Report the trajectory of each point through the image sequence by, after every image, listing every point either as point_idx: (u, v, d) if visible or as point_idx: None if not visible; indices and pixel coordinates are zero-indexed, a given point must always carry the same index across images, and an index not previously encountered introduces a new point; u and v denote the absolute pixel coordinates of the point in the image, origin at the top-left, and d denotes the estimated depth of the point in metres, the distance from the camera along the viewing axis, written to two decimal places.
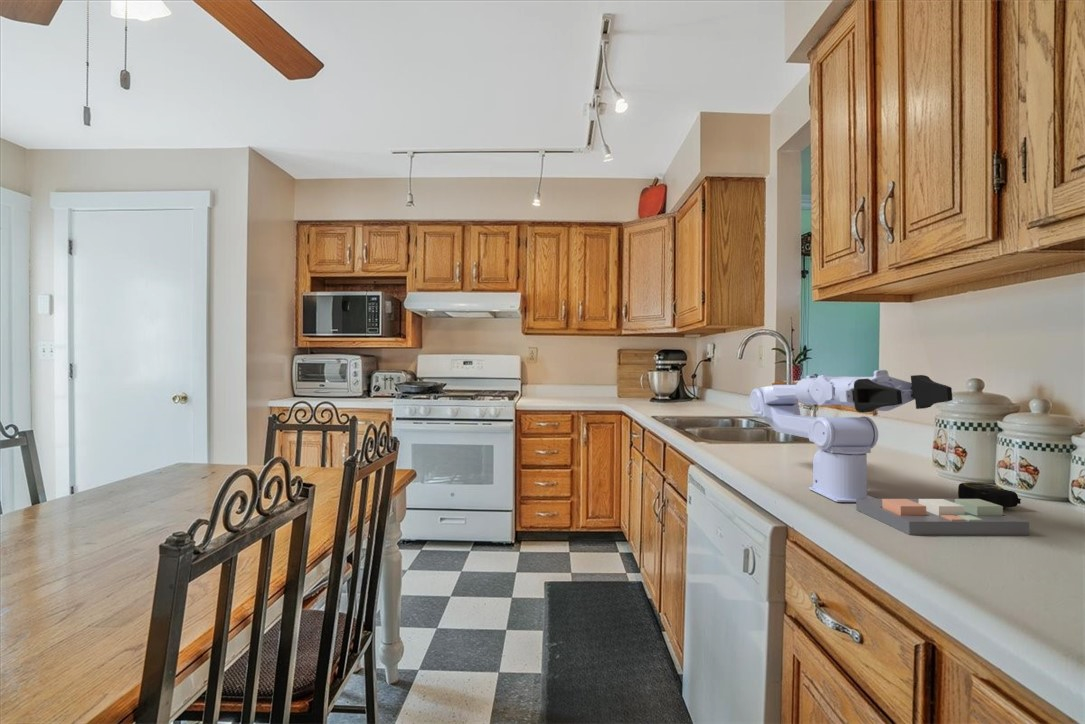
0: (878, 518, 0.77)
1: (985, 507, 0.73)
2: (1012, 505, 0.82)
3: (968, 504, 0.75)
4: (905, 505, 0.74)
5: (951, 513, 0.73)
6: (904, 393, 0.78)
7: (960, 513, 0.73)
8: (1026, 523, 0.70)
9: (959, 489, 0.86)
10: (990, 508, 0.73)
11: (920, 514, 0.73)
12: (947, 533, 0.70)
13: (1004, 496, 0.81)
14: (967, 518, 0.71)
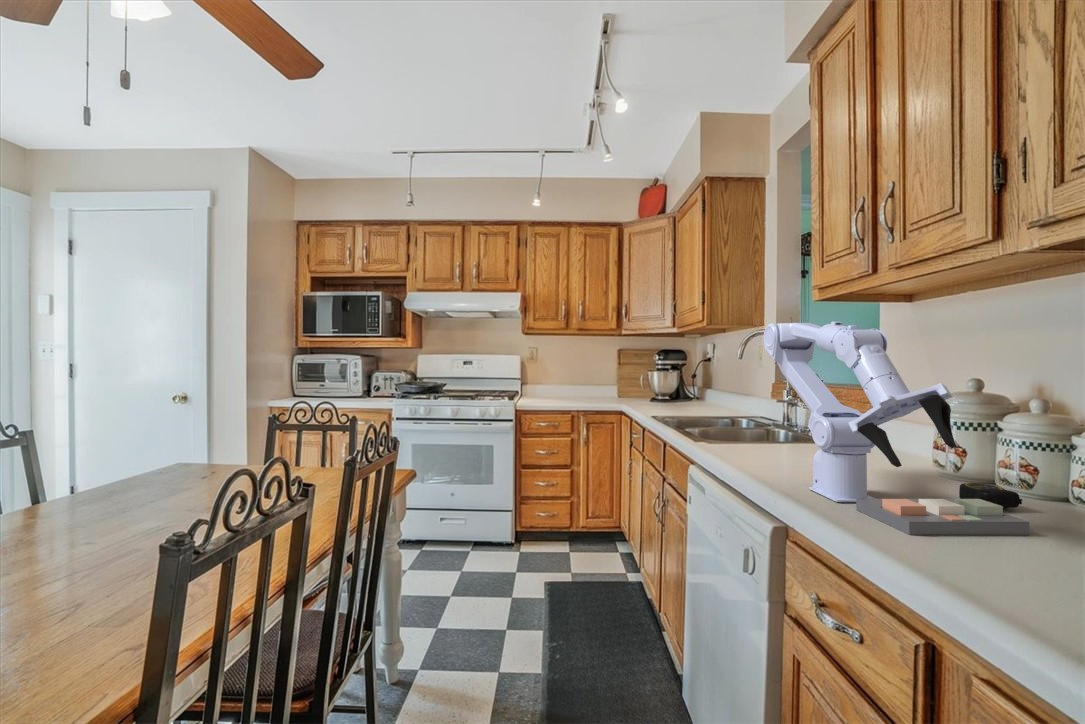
0: (878, 518, 0.77)
1: (985, 507, 0.73)
2: (1013, 506, 0.81)
3: (968, 504, 0.75)
4: (905, 505, 0.74)
5: (951, 513, 0.73)
6: (917, 408, 0.74)
7: (960, 513, 0.73)
8: (1026, 523, 0.70)
9: (960, 489, 0.86)
10: (990, 508, 0.73)
11: (920, 514, 0.73)
12: (947, 533, 0.70)
13: (1005, 496, 0.81)
14: (967, 518, 0.71)
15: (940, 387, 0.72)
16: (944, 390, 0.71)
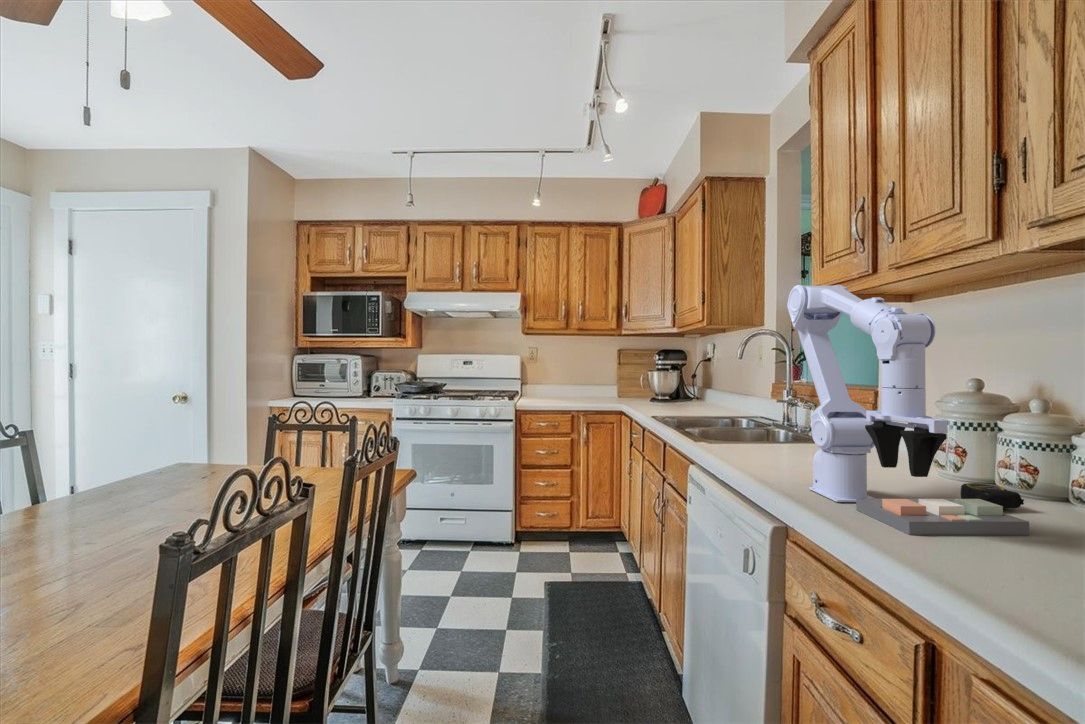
0: (878, 518, 0.77)
1: (985, 507, 0.73)
2: (1015, 506, 0.81)
3: (968, 504, 0.75)
4: (905, 505, 0.74)
5: (951, 513, 0.73)
6: None
7: (960, 513, 0.73)
8: (1026, 523, 0.70)
9: (962, 490, 0.85)
10: (990, 508, 0.73)
11: (920, 514, 0.73)
12: (947, 533, 0.70)
13: (1007, 496, 0.81)
14: (967, 518, 0.71)
15: (931, 424, 0.68)
16: (932, 429, 0.68)
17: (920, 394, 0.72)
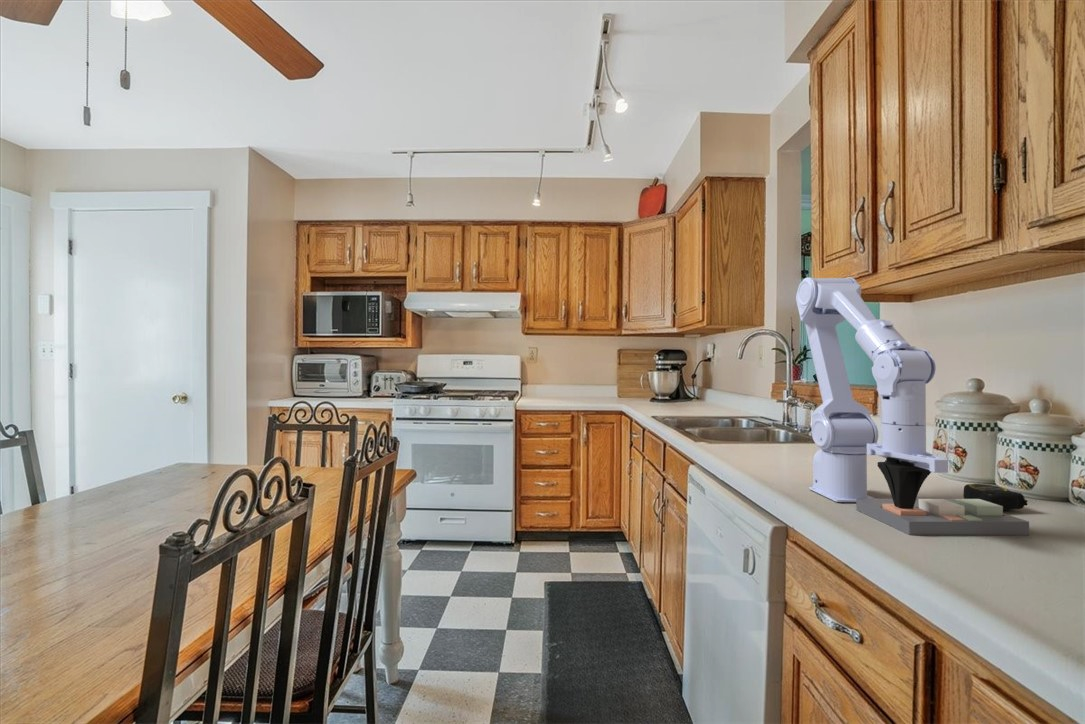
0: (878, 518, 0.77)
1: (985, 507, 0.73)
2: (1019, 507, 0.81)
3: (968, 504, 0.75)
4: (905, 510, 0.74)
5: (951, 513, 0.73)
6: None
7: (960, 513, 0.73)
8: (1026, 523, 0.70)
9: (965, 491, 0.85)
10: (990, 508, 0.73)
11: None
12: (947, 533, 0.70)
13: (1010, 497, 0.80)
14: (967, 518, 0.71)
15: (932, 463, 0.68)
16: (933, 469, 0.68)
17: (920, 431, 0.72)
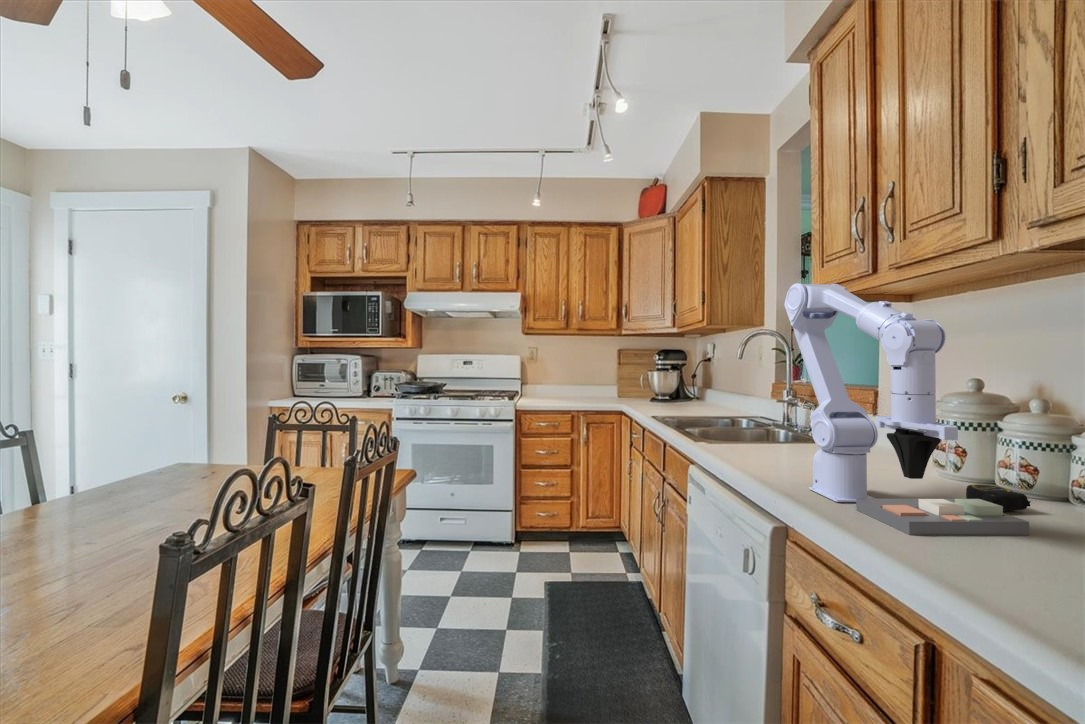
0: (878, 518, 0.77)
1: (985, 507, 0.73)
2: (1021, 508, 0.80)
3: (968, 504, 0.75)
4: (905, 511, 0.74)
5: (951, 513, 0.73)
6: None
7: (960, 513, 0.73)
8: (1026, 523, 0.70)
9: (967, 491, 0.84)
10: (990, 508, 0.73)
11: None
12: (947, 533, 0.70)
13: (1013, 498, 0.80)
14: (967, 518, 0.71)
15: (942, 431, 0.68)
16: (943, 436, 0.68)
17: (930, 400, 0.72)
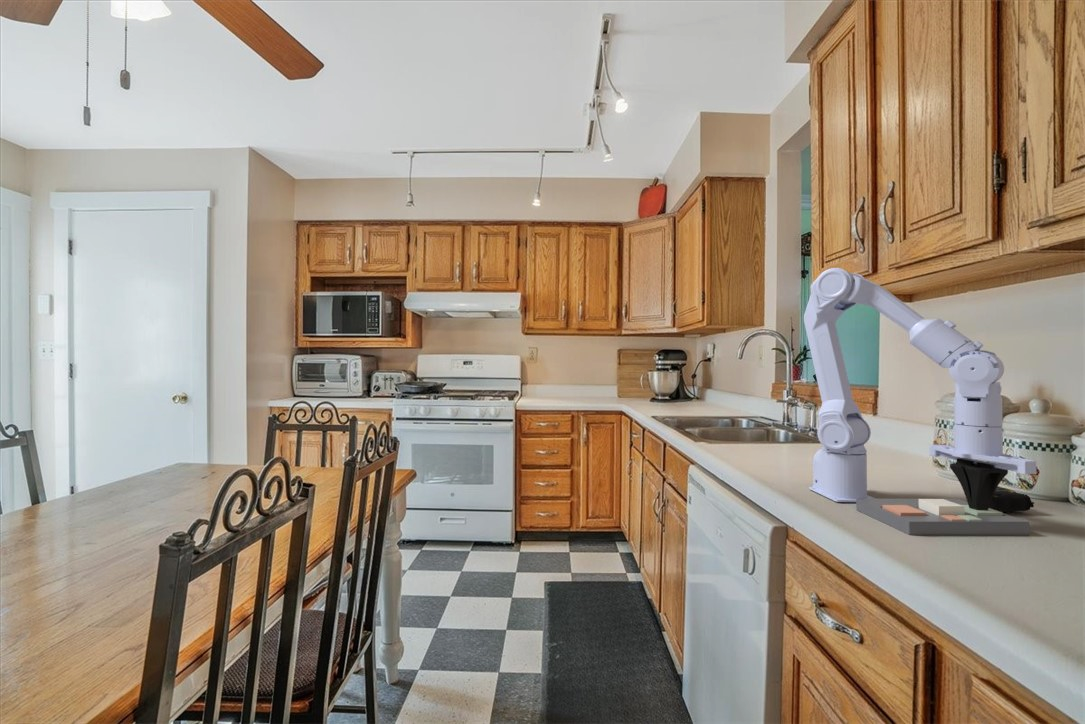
0: (878, 518, 0.77)
1: (985, 513, 0.73)
2: (1025, 509, 0.80)
3: (968, 510, 0.75)
4: (905, 511, 0.74)
5: (951, 513, 0.73)
6: None
7: (960, 513, 0.73)
8: (1026, 523, 0.70)
9: None
10: (990, 515, 0.73)
11: None
12: (947, 533, 0.70)
13: (1016, 499, 0.79)
14: (967, 518, 0.71)
15: (1022, 465, 0.68)
16: (1023, 470, 0.68)
17: (1000, 432, 0.72)
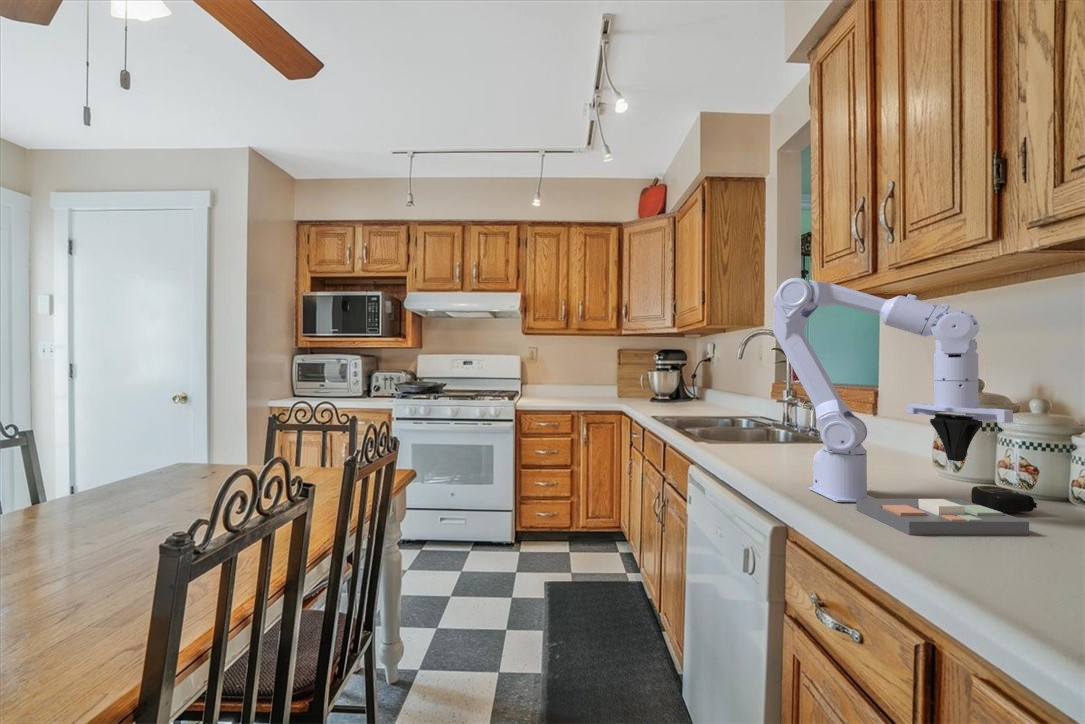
0: (878, 518, 0.77)
1: (985, 513, 0.73)
2: (1028, 509, 0.79)
3: (968, 510, 0.75)
4: (905, 511, 0.74)
5: (951, 513, 0.73)
6: (974, 419, 0.77)
7: (960, 513, 0.73)
8: (1026, 523, 0.70)
9: (972, 493, 0.83)
10: (990, 515, 0.73)
11: None
12: (947, 533, 0.70)
13: (1019, 500, 0.79)
14: (967, 518, 0.71)
15: (1001, 414, 0.72)
16: (1003, 419, 0.72)
17: (977, 386, 0.77)
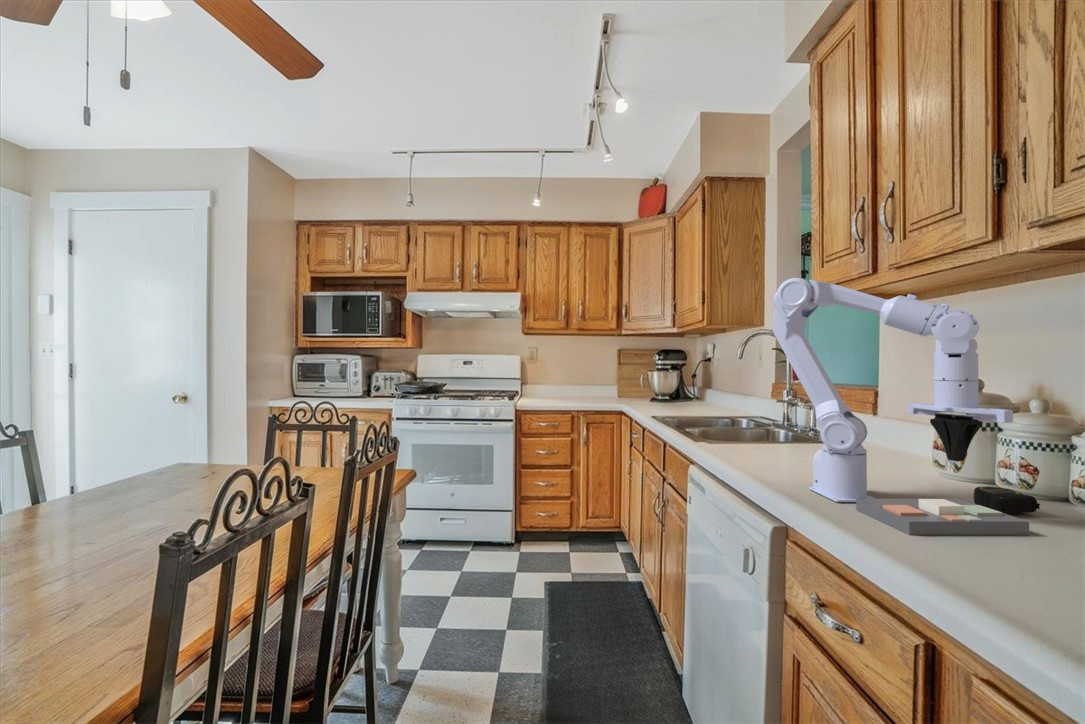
0: (878, 518, 0.77)
1: (985, 513, 0.73)
2: (1031, 510, 0.79)
3: (968, 510, 0.75)
4: (905, 511, 0.74)
5: (951, 513, 0.73)
6: (974, 419, 0.77)
7: (960, 513, 0.73)
8: (1026, 523, 0.70)
9: (975, 493, 0.83)
10: (990, 515, 0.73)
11: None
12: (947, 533, 0.70)
13: (1022, 500, 0.78)
14: (967, 518, 0.71)
15: (1001, 414, 0.72)
16: (1003, 419, 0.72)
17: (977, 386, 0.77)
